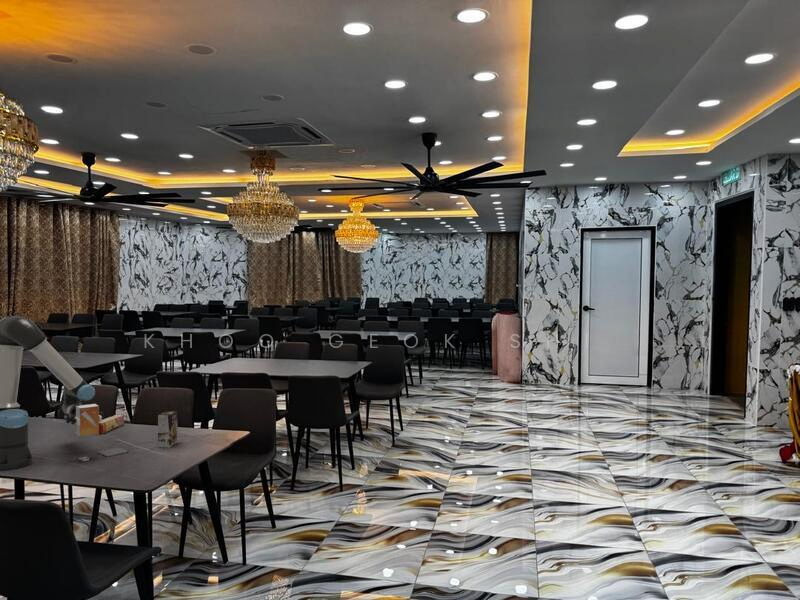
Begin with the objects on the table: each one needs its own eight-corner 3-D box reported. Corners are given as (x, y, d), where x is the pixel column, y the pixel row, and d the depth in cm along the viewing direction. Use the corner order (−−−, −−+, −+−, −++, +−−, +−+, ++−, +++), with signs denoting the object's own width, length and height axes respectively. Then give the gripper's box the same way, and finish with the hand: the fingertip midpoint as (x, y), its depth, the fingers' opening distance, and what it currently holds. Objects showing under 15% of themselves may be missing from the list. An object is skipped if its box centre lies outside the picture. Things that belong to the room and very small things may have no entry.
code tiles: (84, 461, 253) (84, 460, 253) (78, 458, 257) (78, 458, 257) (92, 459, 256) (92, 459, 256) (86, 456, 260) (86, 456, 260)
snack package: (114, 425, 319) (114, 413, 319) (125, 425, 319) (125, 413, 319) (91, 434, 298) (91, 422, 298) (103, 435, 298) (103, 422, 298)
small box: (79, 437, 252) (79, 408, 251) (75, 434, 256) (75, 405, 256) (99, 433, 257) (99, 405, 257) (95, 431, 262) (95, 403, 262)
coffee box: (170, 447, 276) (170, 415, 276) (157, 447, 276) (157, 414, 276) (177, 442, 285) (178, 411, 285) (165, 442, 285) (165, 410, 285)
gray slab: (107, 457, 259) (107, 456, 259) (97, 453, 265) (97, 451, 265) (128, 452, 267) (128, 451, 267) (118, 448, 273) (118, 447, 273)
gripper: (101, 416, 277) (115, 425, 260) (52, 423, 263) (63, 433, 246) (101, 401, 277) (115, 409, 260) (52, 407, 263) (63, 416, 246)
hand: (90, 421), depth 253 cm, fingers closed on small box, 8 cm apart
